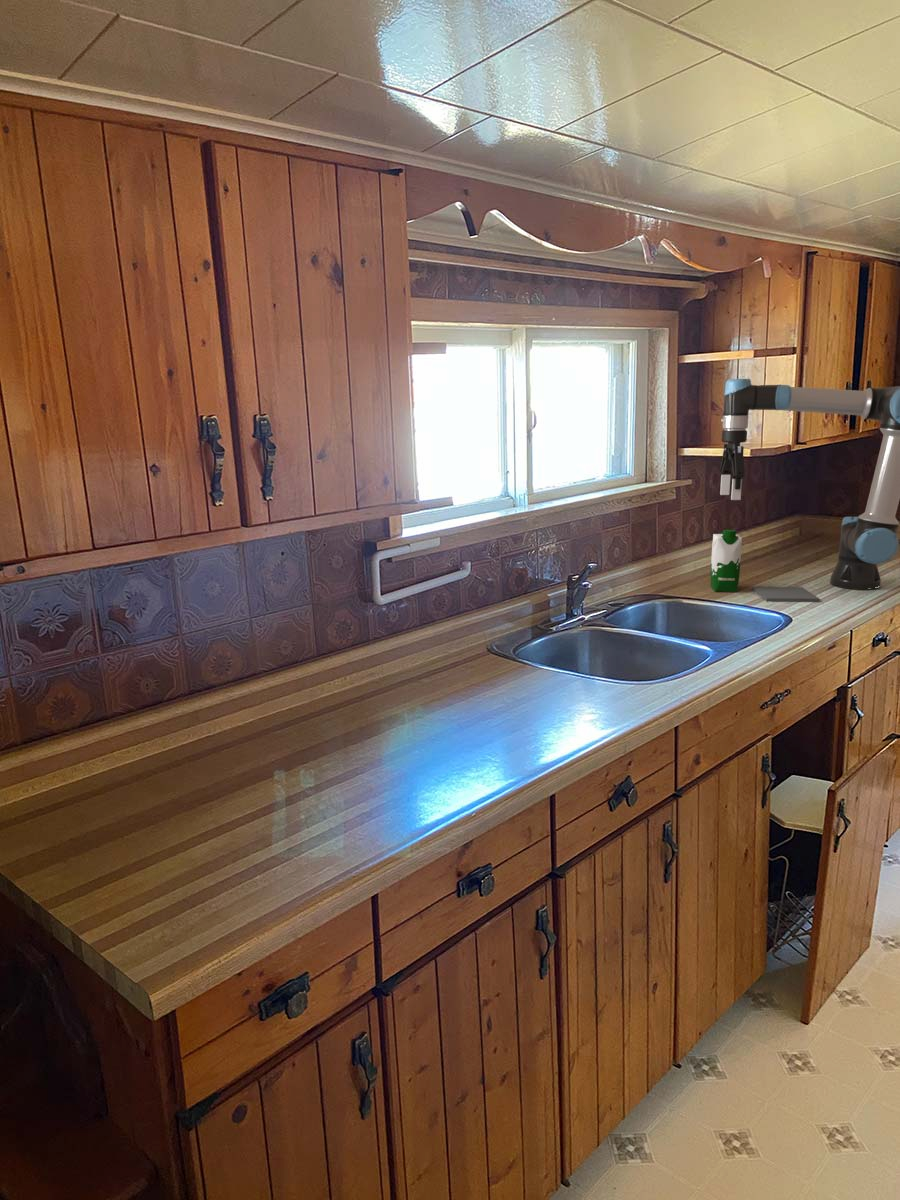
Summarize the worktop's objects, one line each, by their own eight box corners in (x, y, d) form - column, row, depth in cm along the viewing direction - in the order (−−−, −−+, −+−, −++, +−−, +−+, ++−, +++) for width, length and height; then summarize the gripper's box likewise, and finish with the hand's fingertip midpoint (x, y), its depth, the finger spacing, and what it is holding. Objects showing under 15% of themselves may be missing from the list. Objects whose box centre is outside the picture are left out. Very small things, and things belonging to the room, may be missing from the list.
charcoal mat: (801, 590, 273) (801, 587, 273) (819, 601, 258) (819, 598, 257) (751, 589, 274) (751, 586, 274) (766, 601, 259) (766, 598, 258)
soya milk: (712, 592, 271) (716, 531, 266) (707, 586, 280) (711, 527, 275) (740, 593, 270) (745, 531, 265) (734, 586, 279) (738, 527, 274)
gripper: (712, 428, 275) (708, 492, 280) (733, 431, 250) (728, 502, 255) (736, 427, 274) (731, 492, 279) (758, 431, 250) (753, 502, 255)
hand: (730, 497), depth 267 cm, fingers open, 13 cm apart
